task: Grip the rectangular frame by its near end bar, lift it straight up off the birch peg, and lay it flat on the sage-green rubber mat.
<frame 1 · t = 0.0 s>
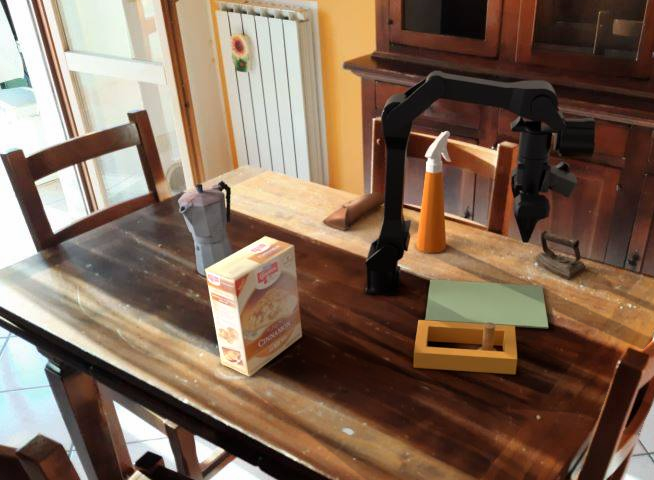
hand: (524, 231, 129), 15 cm above the table, tool pointing down, fingers open, 9 cm apart
moka pot: (217, 267, 147), on the table
peg stand: (486, 355, 120), on the table
mat: (486, 303, 135), on the table
coffeecake box: (263, 351, 121), on the table
spray bottle: (435, 244, 157), on the table
rectangular frame: (464, 353, 120), on the table
sunglasses case: (354, 216, 170), on the table
clothes iron: (556, 266, 148), on the table
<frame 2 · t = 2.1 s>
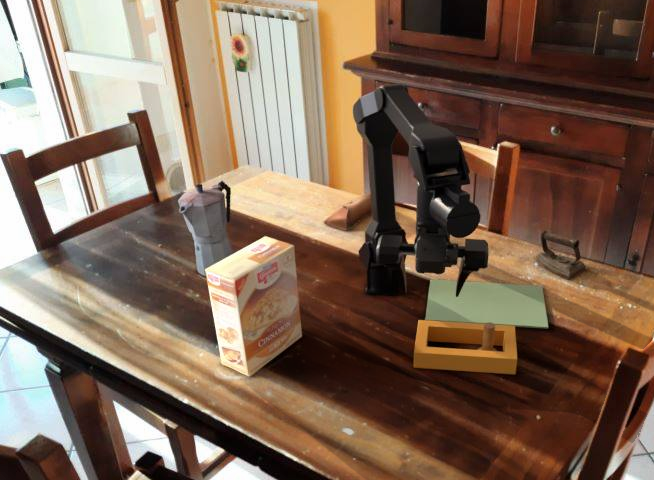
hand: (430, 294, 115), 11 cm above the table, tool pointing down, fingers open, 9 cm apart
nothing on the table moved.
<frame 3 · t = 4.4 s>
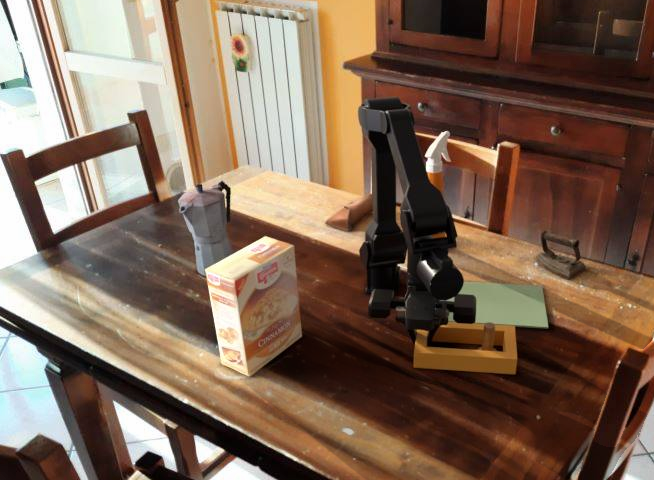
hand: (421, 345, 120), 1 cm above the table, tool pointing down, fingers closed on rectangular frame, 2 cm apart
rectangular frame: (464, 353, 120), on the table, touching gripper
everything else where it was.
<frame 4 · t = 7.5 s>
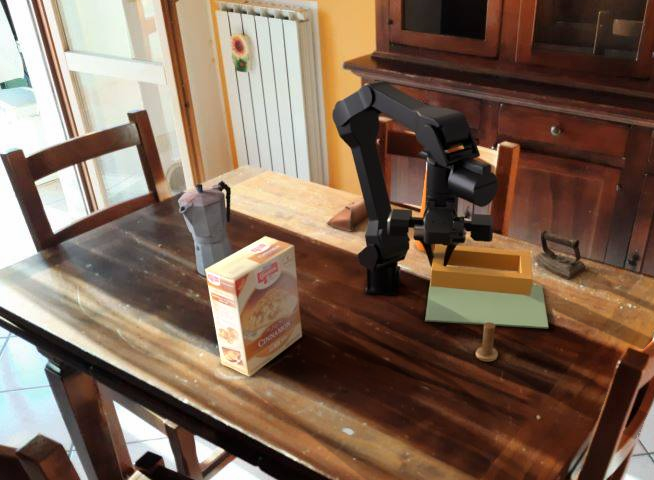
hand: (438, 266, 122), 12 cm above the table, tool pointing down, fingers closed on rectangular frame
rectangular frame: (480, 276, 122), point 11 cm above the table, touching gripper
everything else where it was.
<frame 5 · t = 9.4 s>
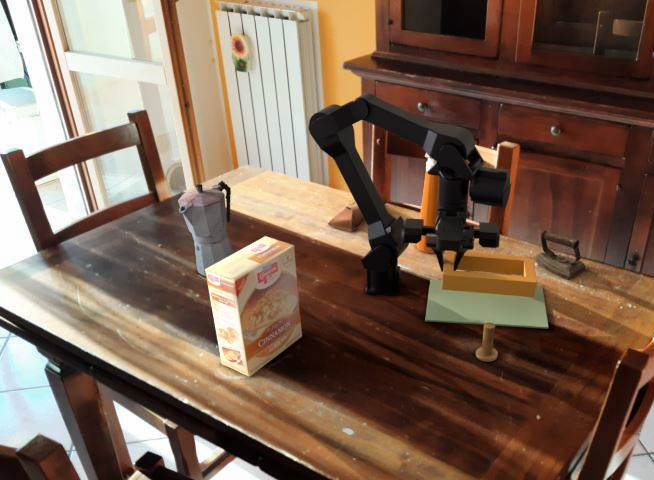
hand: (448, 271, 131), 7 cm above the table, tool pointing down, fingers closed on rectangular frame
rectangular frame: (487, 280, 131), point 6 cm above the table, touching gripper
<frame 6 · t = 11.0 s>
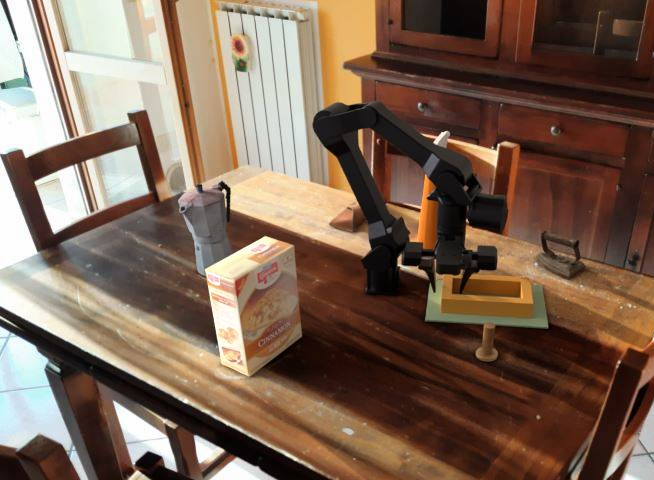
hand: (447, 292, 134), 2 cm above the table, tool pointing down, fingers open, 5 cm apart
rectangular frame: (485, 301, 134), resting on mat
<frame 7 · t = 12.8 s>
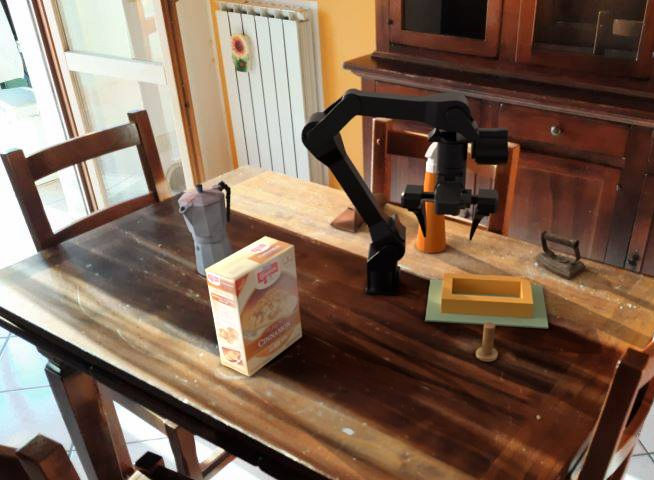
hand: (447, 238, 133), 12 cm above the table, tool pointing down, fingers open, 9 cm apart
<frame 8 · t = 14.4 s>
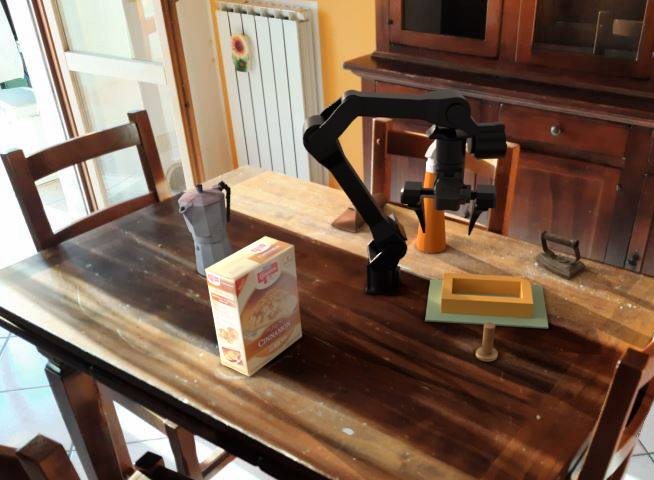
hand: (446, 233, 134), 12 cm above the table, tool pointing down, fingers open, 9 cm apart
at the end: rectangular frame inside the target area (0.1 cm from its centre), resting on mat; rectangular frame touching mat; rectangular frame tilted 0° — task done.
